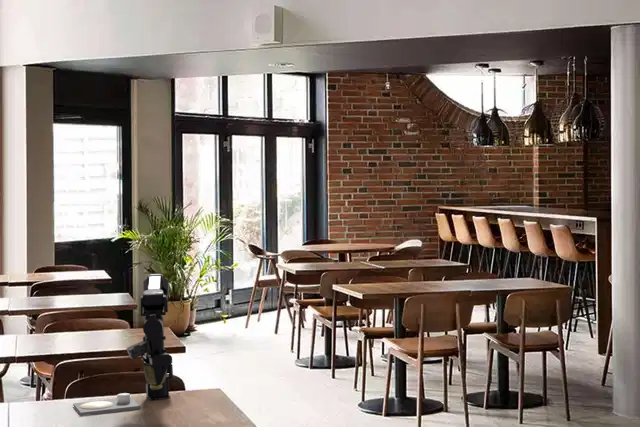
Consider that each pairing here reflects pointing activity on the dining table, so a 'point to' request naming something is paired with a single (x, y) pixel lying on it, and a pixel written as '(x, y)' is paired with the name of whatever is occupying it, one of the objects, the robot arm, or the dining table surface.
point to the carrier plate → (107, 405)
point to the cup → (152, 377)
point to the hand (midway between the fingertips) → (155, 383)
